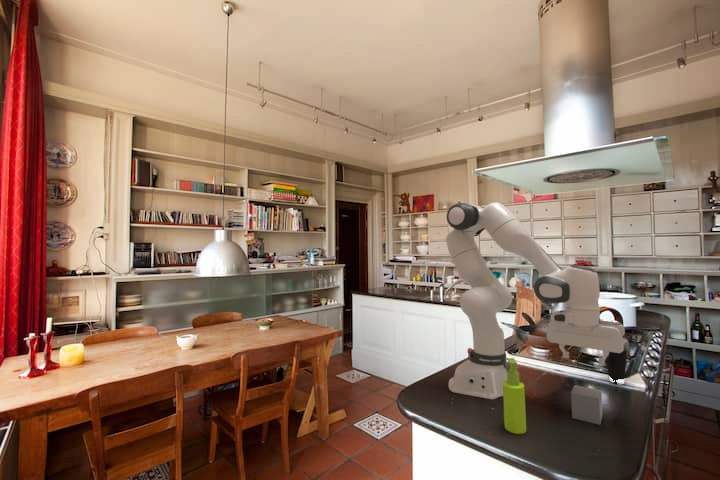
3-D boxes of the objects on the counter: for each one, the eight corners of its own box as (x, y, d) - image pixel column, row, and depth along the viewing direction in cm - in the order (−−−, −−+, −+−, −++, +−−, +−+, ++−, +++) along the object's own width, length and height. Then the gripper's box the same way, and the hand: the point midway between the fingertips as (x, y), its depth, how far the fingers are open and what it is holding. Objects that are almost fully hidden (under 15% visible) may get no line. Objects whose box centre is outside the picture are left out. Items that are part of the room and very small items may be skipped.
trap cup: (600, 424, 102) (599, 398, 102) (572, 417, 106) (571, 392, 106) (602, 415, 107) (601, 390, 107) (575, 408, 112) (574, 384, 112)
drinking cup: (634, 387, 127) (631, 333, 127) (611, 386, 128) (608, 332, 129) (622, 379, 134) (620, 328, 135) (601, 378, 136) (598, 327, 136)
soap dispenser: (522, 422, 104) (519, 356, 105) (528, 434, 98) (525, 364, 98) (502, 421, 106) (499, 356, 106) (506, 432, 99) (503, 363, 99)
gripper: (624, 319, 103) (625, 365, 103) (548, 311, 116) (549, 352, 116) (624, 323, 98) (624, 371, 98) (545, 314, 111) (545, 357, 111)
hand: (583, 361), depth 107 cm, fingers open, 8 cm apart
